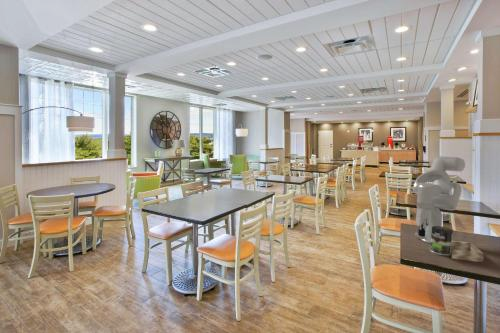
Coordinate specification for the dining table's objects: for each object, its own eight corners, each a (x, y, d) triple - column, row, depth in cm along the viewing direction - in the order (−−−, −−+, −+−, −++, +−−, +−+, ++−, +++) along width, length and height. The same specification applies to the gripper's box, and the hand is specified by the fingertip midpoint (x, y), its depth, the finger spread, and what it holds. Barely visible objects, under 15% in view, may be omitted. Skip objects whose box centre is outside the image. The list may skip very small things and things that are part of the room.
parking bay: (452, 258, 154) (452, 249, 153) (443, 247, 169) (443, 239, 168) (482, 262, 149) (483, 253, 149) (470, 251, 164) (471, 242, 163)
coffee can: (445, 257, 155) (447, 232, 154) (426, 250, 164) (428, 227, 163) (454, 253, 160) (456, 229, 159) (435, 247, 169) (437, 224, 168)
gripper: (414, 202, 171) (411, 231, 173) (419, 207, 157) (417, 239, 159) (428, 203, 169) (425, 233, 170) (435, 209, 155) (432, 241, 156)
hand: (421, 235), depth 164 cm, fingers closed
